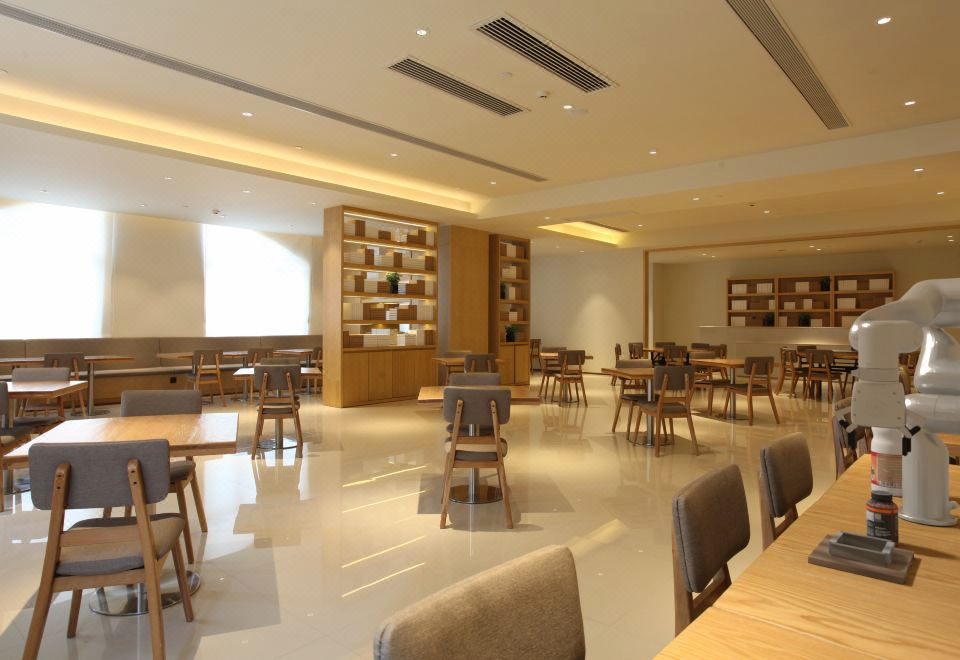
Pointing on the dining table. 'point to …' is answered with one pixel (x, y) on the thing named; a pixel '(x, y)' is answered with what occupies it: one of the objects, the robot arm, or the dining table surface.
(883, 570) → the bottle holder
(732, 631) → the dining table surface
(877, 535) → the supplement bottle
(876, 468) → the fruit juice
